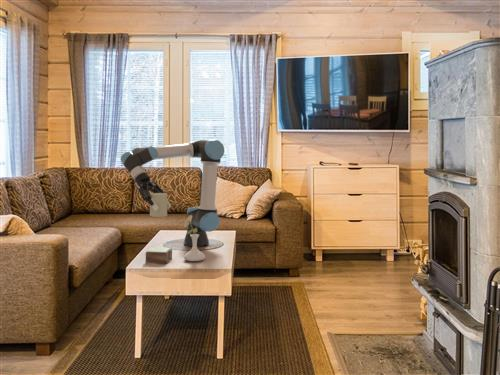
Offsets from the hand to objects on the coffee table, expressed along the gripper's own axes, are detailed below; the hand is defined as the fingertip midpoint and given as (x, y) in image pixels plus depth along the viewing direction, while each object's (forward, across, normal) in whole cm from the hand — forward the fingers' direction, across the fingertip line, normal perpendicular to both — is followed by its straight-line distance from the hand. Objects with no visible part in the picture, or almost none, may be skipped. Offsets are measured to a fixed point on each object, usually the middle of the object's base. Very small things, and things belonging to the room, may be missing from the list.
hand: (163, 208), depth 260 cm
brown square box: (+18, 0, -22) cm, 29 cm away
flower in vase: (+28, -11, -12) cm, 33 cm away
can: (+1, 0, -5) cm, 5 cm away
